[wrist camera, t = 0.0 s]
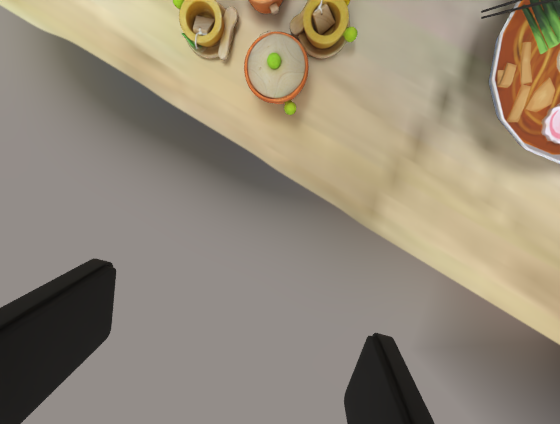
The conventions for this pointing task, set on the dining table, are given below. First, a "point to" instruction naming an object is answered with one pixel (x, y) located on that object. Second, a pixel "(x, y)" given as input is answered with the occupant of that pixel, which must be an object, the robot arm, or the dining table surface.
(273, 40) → the toy tea set
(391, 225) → the dining table surface
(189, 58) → the dining table surface
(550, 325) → the dining table surface
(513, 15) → the ramen bowl
